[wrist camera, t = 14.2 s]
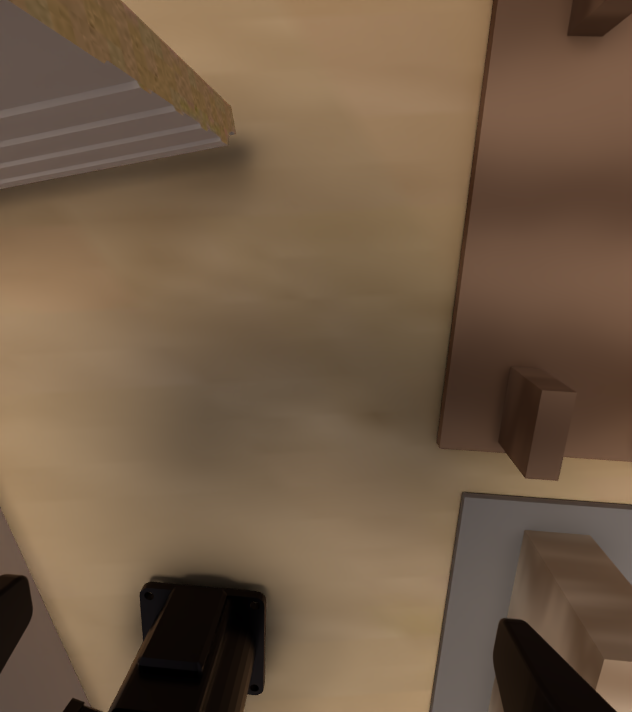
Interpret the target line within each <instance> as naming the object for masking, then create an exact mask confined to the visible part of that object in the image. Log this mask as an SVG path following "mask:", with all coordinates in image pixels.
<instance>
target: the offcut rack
mask: <svg viewBox="0 0 632 712" xmlns="http://www.w3.org/2000/svg"><path fill="white" fill-rule="evenodd" d="M437 444H438V446H439V448H441V449H456V450H470V451H484V452H499V453H507V455H508V456H509V457H510V459H511V460H512V461H513V463H514V464H515V465H516V467H517V468H518V469H519V471H520V472H521V473H522V475H523V476H524V477H525V478H528V479H542V480H555V481H558V479H559V474H560V469H561V465H562V460H563V457H571V458H585V459H600V460H614V461H628V462H632V0H493V8H492V16H491V24H490V31H489V39H488V47H487V55H486V63H485V70H484V78H483V86H482V94H481V101H480V109H479V117H478V125H477V133H476V140H475V148H474V156H473V164H472V172H471V179H470V187H469V195H468V203H467V211H466V218H465V226H464V234H463V242H462V250H461V257H460V265H459V273H458V281H457V289H456V296H455V304H454V312H453V320H452V327H451V335H450V343H449V351H448V359H447V366H446V374H445V382H444V390H443V398H442V405H441V413H440V421H439V429H438V437H437Z"/></svg>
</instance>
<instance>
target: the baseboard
mask: <svg viewBox="0 0 632 712" xmlns="http://www.w3.org/2000/svg"><path fill="white" fill-rule="evenodd" d="M233 134H236V131H235V126H234V120H233V114H232V109H231V106H230V105H229V104H228V103H227V102H226V101H225V100H224V99H223V98H222V97H221V96H219V95H218V94H217V93H216V92H215V91H214V90H213V89H212V88H211V87H210V86H209V85H208V84H207V83H206V82H205V81H204V80H203V79H202V78H201V77H200V76H199V75H198V74H197V73H196V72H195V71H194V70H193V69H191V68H190V67H189V66H188V65H187V64H186V63H185V62H184V61H183V60H182V59H181V58H180V57H179V56H178V55H177V54H176V53H175V52H174V51H173V50H172V49H171V48H170V47H169V46H168V45H167V44H166V43H165V42H163V41H162V40H161V39H160V38H159V37H158V36H157V35H156V34H155V33H154V32H153V31H152V30H151V29H150V28H149V27H148V26H147V25H146V24H145V23H144V22H143V21H142V20H141V19H140V18H139V17H138V16H136V15H135V14H134V13H133V12H132V11H131V10H130V9H129V8H128V7H127V6H126V5H125V4H124V3H123V2H122V1H121V0H0V189H3V188H9V187H14V186H19V185H24V184H29V183H35V182H40V181H45V180H50V179H55V178H60V177H66V176H71V175H76V174H81V173H86V172H92V171H97V170H102V169H107V168H112V167H118V166H123V165H128V164H133V163H138V162H144V161H149V160H154V159H159V158H164V157H169V156H175V155H180V154H185V153H190V152H195V151H201V150H206V149H211V148H216V147H221V146H227V145H228V141H229V135H233Z"/></svg>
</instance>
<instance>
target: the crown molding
mask: <svg viewBox="0 0 632 712" xmlns="http://www.w3.org/2000/svg"><path fill="white" fill-rule="evenodd" d="M3 574H16V575H24V576H26V577H27V578H28V580H29V585H30V592H31V598H32V604H33V614H32V618H31V621H30V623H29V625H28V627H27V628H26V630H25V632H24V634H23V635H22V637H21V639H20V641H19V642H18V644H17V646H16V648H15V649H14V651H13V653H12V654H11V656H10V658H9V660H8V661H7V663H6V665H5V667H4V668H3V670H2V672H1V674H0V712H63V710H64V709H65V708H66V706H67V705H68V703H69V702H70V700H71V699H72V698H75V699H78V700H81V701H83V702H85V704H84V705H86V706H88V707H91V706H90V704H89V702H88V699H87V697H86V695H85V693H84V691H83V688H82V686H81V684H80V682H79V680H78V677H77V675H76V673H75V671H74V669H73V666H72V664H71V662H70V660H69V658H68V655H67V653H66V651H65V649H64V647H63V644H62V642H61V640H60V638H59V635H58V633H57V631H56V629H55V627H54V624H53V622H52V620H51V618H50V616H49V613H48V611H47V609H46V607H45V605H44V602H43V600H42V598H41V596H40V594H39V591H38V589H37V587H36V585H35V583H34V580H33V578H32V576H31V574H30V572H29V569H28V567H27V565H26V563H25V561H24V558H23V556H22V554H21V552H20V550H19V547H18V545H17V543H16V541H15V539H14V536H13V534H12V532H11V530H10V528H9V525H8V523H7V521H6V519H5V516H4V514H3V512H2V510H1V508H0V576H1V575H3Z"/></svg>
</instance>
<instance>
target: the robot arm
mask: <svg viewBox="0 0 632 712" xmlns="http://www.w3.org/2000/svg"><path fill="white" fill-rule="evenodd" d="M149 592H151V593H152V594H151V593H149ZM254 601H255V602H258V603H254ZM140 607H141V619H142V632H143V643H142V645H141V647H140V649H139V651H138V653H137V655H136V657H135V659H134V661H133V663H132V665H131V667H130V669H129V671H128V673H127V675H126V677H125V679H124V681H123V683H122V685H121V687H120V689H119V691H118V693H117V695H116V697H115V699H114V701H113V703H112V705H111V707H110V709H109V711H108V712H243V711H244V707H245V702H246V697H247V694H249V695H259V694H261V693H262V692H263V689H264V683H265V635H266V598H265V596H264V595H263V594H262V593H261V592H257V591H247V590H236V589H225V588H214V587H202V586H191V585H180V584H169V583H157V582H148V583H146V584H145V585H144V586H143V588H142V590H141V591H140ZM32 614H33V604H32V598H31V592H30V585H29V580H28V578H27V577H26V576H24V575H16V574H3V575H1V576H0V674H1V672H2V670H3V668H4V667H5V665H6V663H7V661H8V660H9V658H10V656H11V654H12V653H13V651H14V649H15V648H16V646H17V644H18V642H19V641H20V639H21V637H22V635H23V634H24V632H25V630H26V628H27V627H28V625H29V623H30V621H31V618H32ZM493 666H494V671H495V675H496V680H497V684H498V688H499V693H500V697H501V702H502V706H503V711H504V712H617V711H616V710H615V709H614V708H613V707H612V706H611V705H610V704H609V703H608V702H607V701H606V700H605V699H604V698H603V697H602V696H601V695H600V694H599V693H598V692H597V691H596V690H595V689H594V688H593V687H592V686H591V685H590V684H589V683H588V682H587V681H586V680H585V679H584V678H583V677H582V676H581V675H580V674H579V673H578V672H576V671H575V670H574V669H573V668H572V667H571V666H570V665H569V664H568V663H567V662H566V661H565V660H564V659H563V658H562V657H561V656H560V655H559V654H558V653H557V652H556V651H555V650H554V649H553V648H552V647H551V646H550V645H549V644H548V643H547V642H546V641H545V640H544V639H543V638H542V637H541V636H540V635H539V634H538V633H537V632H536V631H535V630H534V629H533V628H532V627H531V626H530V625H529V624H528V623H527V622H525V621H524V620H521V619H512V618H502V619H500V621H499V623H498V628H497V633H496V638H495V643H494V649H493ZM84 704H85V702H83V701H81V700H78V699H75V698H72V699H71V700H70V702H69V703H68V705H67V706H66V708H65V709H64V710H63V712H102V711H99V710H96V709H94V708H91V707H88V706H86V705H84Z"/></svg>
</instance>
